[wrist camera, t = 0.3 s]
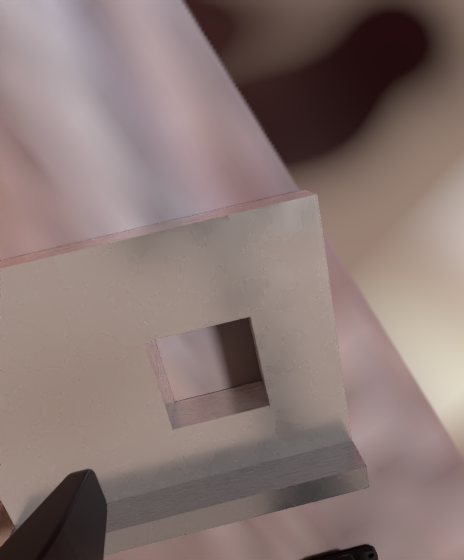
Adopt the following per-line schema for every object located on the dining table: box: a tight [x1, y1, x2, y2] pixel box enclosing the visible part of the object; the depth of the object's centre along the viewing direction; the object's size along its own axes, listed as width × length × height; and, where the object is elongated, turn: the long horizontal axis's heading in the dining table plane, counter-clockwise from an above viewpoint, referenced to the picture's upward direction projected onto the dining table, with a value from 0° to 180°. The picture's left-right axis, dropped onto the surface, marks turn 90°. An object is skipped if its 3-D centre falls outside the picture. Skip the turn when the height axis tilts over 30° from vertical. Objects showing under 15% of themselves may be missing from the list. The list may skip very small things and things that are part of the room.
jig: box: [0, 190, 369, 556], centre depth 20 cm, size 16×20×4 cm
